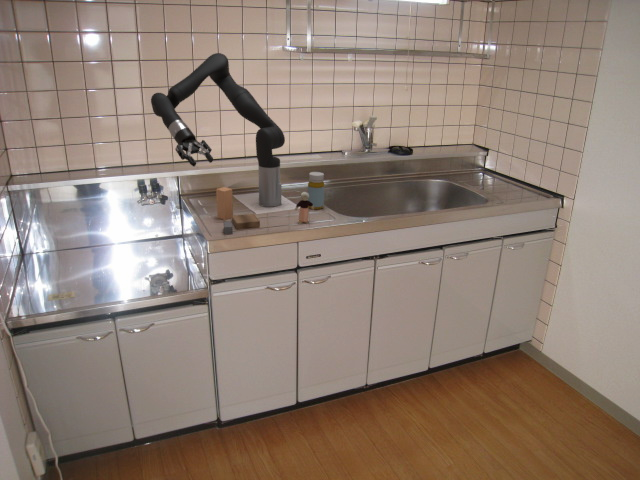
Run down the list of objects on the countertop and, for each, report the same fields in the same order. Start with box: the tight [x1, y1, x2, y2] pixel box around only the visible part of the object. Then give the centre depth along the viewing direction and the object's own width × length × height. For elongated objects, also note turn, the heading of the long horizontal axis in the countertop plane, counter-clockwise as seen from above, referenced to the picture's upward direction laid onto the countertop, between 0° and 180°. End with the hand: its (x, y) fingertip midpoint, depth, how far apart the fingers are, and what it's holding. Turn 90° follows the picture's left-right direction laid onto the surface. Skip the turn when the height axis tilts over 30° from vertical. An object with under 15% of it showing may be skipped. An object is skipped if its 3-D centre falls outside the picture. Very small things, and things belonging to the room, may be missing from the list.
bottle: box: [307, 171, 325, 211], centre depth 223 cm, size 7×7×15 cm
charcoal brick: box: [223, 220, 234, 235], centre depth 196 cm, size 3×6×3 cm, turn 12°
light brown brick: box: [215, 186, 234, 221], centre depth 208 cm, size 4×4×12 cm
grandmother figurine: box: [294, 191, 315, 225], centre depth 206 cm, size 8×4×13 cm, turn 114°
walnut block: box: [231, 213, 261, 231], centre depth 203 cm, size 9×9×3 cm
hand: (203, 163), depth 209 cm, fingers open, 8 cm apart
